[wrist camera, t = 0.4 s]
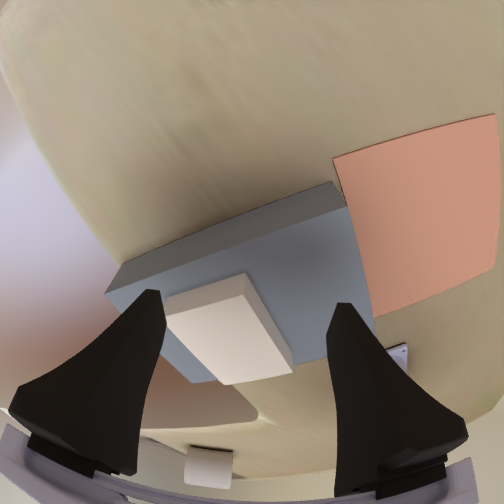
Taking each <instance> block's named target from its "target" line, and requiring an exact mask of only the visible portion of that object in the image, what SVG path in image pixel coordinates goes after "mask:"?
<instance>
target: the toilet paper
mask: <svg viewBox="0 0 504 504" xmlns="http://www.w3.org/2000/svg"><path fill="white" fill-rule="evenodd" d="M232 464H233V452H226V451H217V450H209V449H202V448H195V447H189V449H188V452H187V457H186V463H185V472H184V480H185V483H186V484H192V485H199V486H206V487H213V488H223V489H230V484H231V476H232Z"/></svg>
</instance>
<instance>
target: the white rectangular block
mask: <svg viewBox="0 0 504 504" xmlns="http://www.w3.org/2000/svg"><path fill="white" fill-rule="evenodd" d="M164 312H165V317H166V321H167V327H168V328H169V329H170V330H171V331H172V332H173V333H174V334H175V336H176V337H177V338H178V339H179V340H180V341H181V342H182V343H183V344H184V345H185V346H186V347H187V348H188V349H189V351H190V352H191V353H192V354H193V355H194V356H195V357H196V358H197V359H198V360H199V361H200V362H201V363H202V364H203V365H204V366H205V367H206V368H207V369H208V370H209V371H210V372H211V373H212V374H213V375H214V376H215V377H216V378H217V379H218V380H219V381H221V382H222V383H223V384H224V385H229V384H236V383H242V382H248V381H254V380H259V379H264V378H270V377H275V376H279V375H284V374H289V373H293V362H292V352H291V350H290V348H289V347H288V345H287V343H286V342H285V340H284V338H283V336H282V335H281V333H280V331H279V330H278V328H277V326H276V325H275V323H274V321H273V319H272V318H271V316H270V314H269V313H268V311H267V309H266V307H265V306H264V304H263V302H262V301H261V299H260V297H259V295H258V294H257V292H256V290H255V289H254V287H253V285H252V283H251V282H250V280H249V278H248V276H247V275H246V273H242V274H239V275H236V276H233V277H230V278H227V279H224V280H221V281H218V282H215V283H211V284H208V285H205V286H202V287H199V288H196V289H193V290H189V291H186V292H183V293H180V294H177V295H173V296H170V297H167V300H166V303H165V305H164Z"/></svg>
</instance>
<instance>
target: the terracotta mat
mask: <svg viewBox="0 0 504 504" xmlns="http://www.w3.org/2000/svg"><path fill="white" fill-rule="evenodd" d="M332 160H333V162H334V165H335V168H336V171H337V175H338V178H339V181H340V184H341V187H342V190H343V194H344V197H345V200H346V204H347V207H348V210H349V214H350V217H351V221H352V224H353V228H354V232H355V236H356V240H357V244H358V248H359V252H360V256H361V260H362V264H363V269H364V273H365V278H366V283H367V287H368V292H369V297H370V303H371V308H372V314H373V318H375V317H378V316H381V315H384V314H387V313H390V312H392V311H395V310H398V309H400V308H403V307H406V306H408V305H411V304H413V303H416V302H419V301H421V300H423V299H426V298H428V297H431V296H433V295H436V294H438V293H440V292H443V291H445V290H447V289H450V288H452V287H454V286H456V285H458V284H461V283H463V282H465V281H467V280H469V279H471V278H474V277H476V276H478V275H480V274H482V273H484V272H486V271H488V270H490V269H492V268H494V264H495V258H496V251H497V243H498V234H499V223H500V207H501V162H500V146H499V135H498V127H497V119H496V114H490V115H485V116H481V117H476V118H472V119H467V120H463V121H459V122H455V123H451V124H447V125H443V126H439V127H435V128H431V129H427V130H424V131H420V132H416V133H413V134H409V135H406V136H402V137H399V138H395V139H392V140H389V141H385V142H382V143H379V144H376V145H372V146H369V147H366V148H363V149H360V150H357V151H353V152H350V153H347V154H344V155H341V156H338V157H335V158H332Z"/></svg>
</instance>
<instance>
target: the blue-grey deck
mask: <svg viewBox="0 0 504 504" xmlns="http://www.w3.org/2000/svg"><path fill="white" fill-rule="evenodd" d="M242 273H246V275H247V276H248V278H249V280H250V282H251V283H252V285H253V287H254V289H255V290H256V292H257V294H258V295H259V297H260V299H261V301H262V302H263V304H264V306H265V307H266V309H267V311H268V313H269V314H270V316H271V318H272V319H273V321H274V323H275V325H276V326H277V328H278V330H279V331H280V333H281V335H282V336H283V338H284V340H285V342H286V343H287V345H288V347H289V348H290V350H291V352H292V362H293V365H298V364H302V363H306V362H310V361H314V360H317V359H321V358H325V357H327V346H326V333H327V330H328V327H329V325H330V322H331V319H332V316H333V313H334V311H335V308H336V305H337V302H340V303H352V305H353V306H354V307H355V309H356V310H357V312H358V313H359V314H360V316H361V317H362V319H363V320H364V322H365V323H366V324H367V326H368V327H369V329H370V330H371V331H372V333H373V334H374V335H375V337H376V331H375V325H374V319H373V314H372V308H371V303H370V297H369V292H368V287H367V283H366V278H365V273H364V269H363V264H362V260H361V256H360V252H359V248H358V244H357V240H356V236H355V232H354V228H353V224H352V221H351V217H350V214H349V210H348V207H347V205H346V203H345V201H344V200H343V198H342V196H341V195H340V193H339V191H338V190H337V188H336V187H335V185H334V183H333V182H332V181H331V182H328V183H325V184H322V185H319V186H317V187H314V188H311V189H308V190H305V191H303V192H300V193H297V194H294V195H292V196H289V197H286V198H283V199H281V200H278V201H275V202H273V203H270V204H267V205H265V206H262V207H259V208H257V209H254V210H251V211H249V212H246V213H244V214H241V215H238V216H236V217H233V218H231V219H228V220H226V221H223V222H221V223H218V224H216V225H213V226H211V227H208V228H206V229H203V230H201V231H198V232H196V233H193V234H191V235H188V236H186V237H184V238H181V239H179V240H176V241H174V242H172V243H169V244H167V245H164V246H162V247H160V248H157V249H155V250H153V251H150V252H148V253H146V254H143V255H141V256H139V257H136V258H134V259H132V260H130V261H127V262H125V263H123V264H122V266H121V268H120V269H119V271H118V272H117V274H116V276H115V277H114V279H113V281H112V282H111V284H110V285H109V287H108V289H107V290H106V292H105V295H106V297H108V299H109V300H110V301H111V302H112V303H113V305H114V306H115V307H116V308H117V309H118V310H119V311H120V312H121V314H122V313H123V312H124V311H125V310H126V309H127V308H128V307H129V306H130V305H131V304H132V303H133V302H134V301H135V300H136V299H137V297H138V296H139V295H140V294H141V293H142V292H143V291H144V290H145V289H154V290H160V293H161V298H162V303H163V308H164V305H165V303H166V300H167V297H170V296H173V295H177V294H180V293H183V292H186V291H189V290H193V289H196V288H199V287H202V286H205V285H208V284H211V283H215V282H218V281H221V280H224V279H227V278H230V277H233V276H236V275H239V274H242ZM160 354H161V355H162V356H163V357H164V358H165V359H166V360H167V361H168V362H169V363H171V364H172V365H173V366H174V367H175V368H176V369H177V370H178V371H179V372H180V373H181V374H182V375H184V376H185V377H186V378H187V379H188V380H189V381H190V382H191V383H199V382H206V381H214V380H218V379H217V378H216V377H215V376H214V375H213V374H212V373H211V372H210V371H209V370H208V369H207V368H206V367H205V366H204V365H203V364H202V363H201V362H200V361H199V360H198V359H197V358H196V357H195V356H194V355H193V354H192V353H191V352H190V351H189V349H188V348H187V347H186V346H185V345H184V344H183V343H182V342H181V341H180V340H179V339H178V338H177V337H176V336H175V334H174V333H173V332H172V331H171V330H170V329H169V328H168V327H166V332H165V336H164V341H163V345H162V348H161V351H160Z"/></svg>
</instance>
